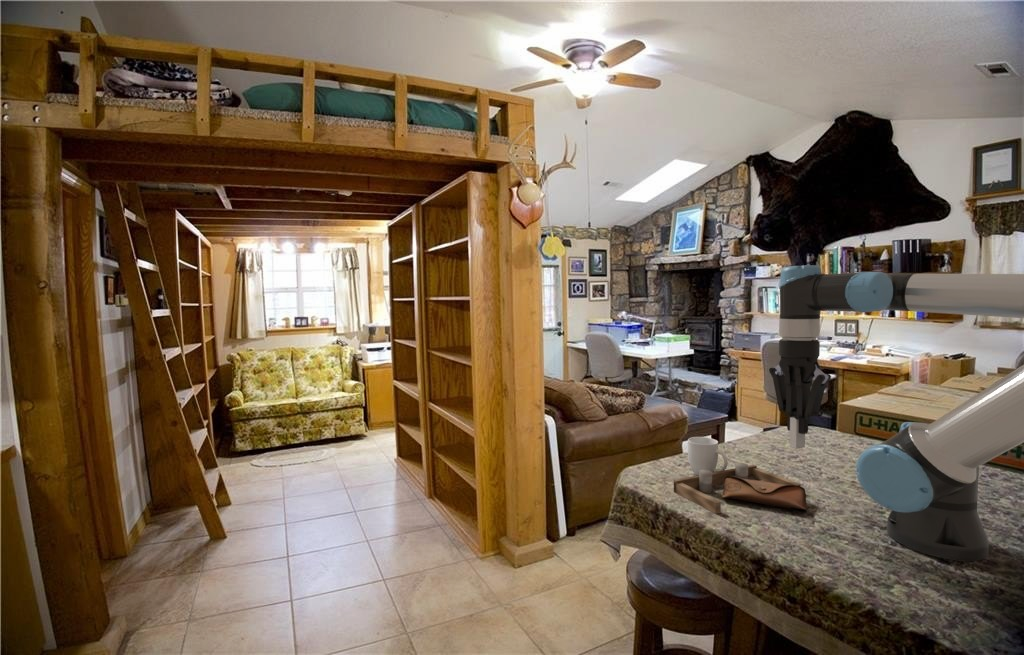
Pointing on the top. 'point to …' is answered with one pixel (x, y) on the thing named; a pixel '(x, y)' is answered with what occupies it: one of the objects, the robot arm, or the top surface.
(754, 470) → the rail board
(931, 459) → the robot arm
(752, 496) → the sunglasses case
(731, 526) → the top surface
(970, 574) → the top surface
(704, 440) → the mug
